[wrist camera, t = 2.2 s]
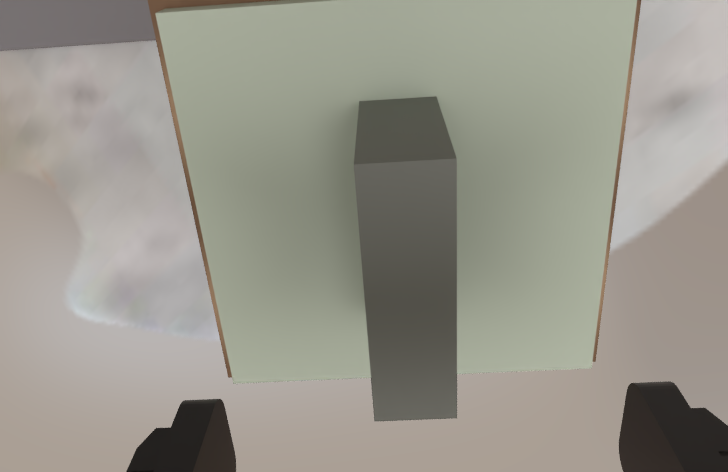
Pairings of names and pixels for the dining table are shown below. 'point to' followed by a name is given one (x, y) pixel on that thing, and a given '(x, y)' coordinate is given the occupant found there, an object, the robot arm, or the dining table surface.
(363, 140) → the lid
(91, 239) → the dining table surface
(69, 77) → the dining table surface
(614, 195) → the box
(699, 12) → the dining table surface
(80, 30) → the mat
